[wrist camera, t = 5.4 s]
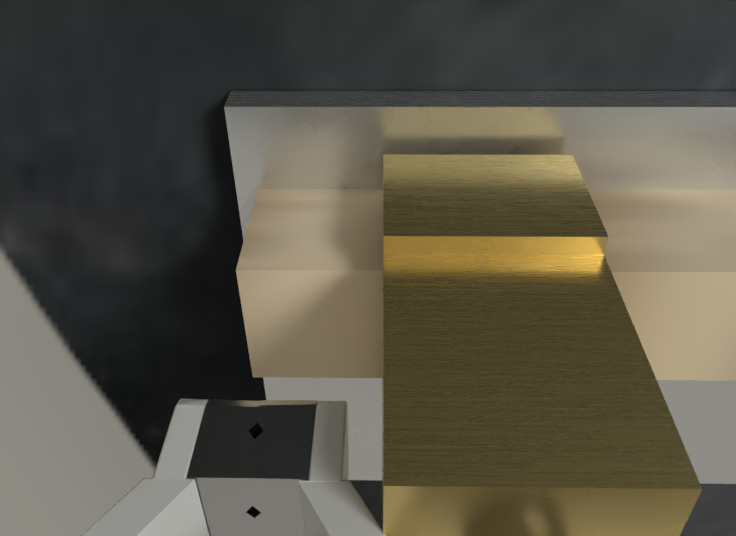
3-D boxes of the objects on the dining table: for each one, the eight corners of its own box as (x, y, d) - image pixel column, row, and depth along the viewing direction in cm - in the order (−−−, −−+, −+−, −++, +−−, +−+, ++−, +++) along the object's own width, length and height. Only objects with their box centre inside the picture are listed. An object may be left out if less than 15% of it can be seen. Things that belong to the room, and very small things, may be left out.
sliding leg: (572, 154, 15) (738, 529, 8) (516, 442, 21) (582, 800, 14) (383, 154, 15) (383, 525, 8) (381, 441, 21) (380, 796, 14)
